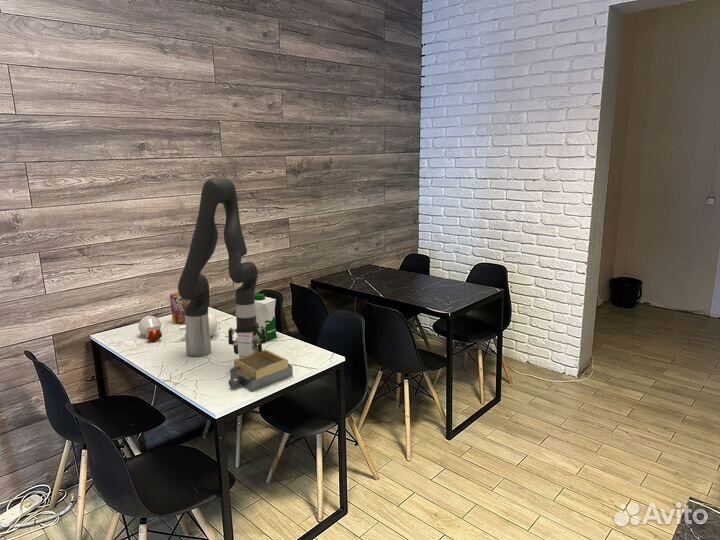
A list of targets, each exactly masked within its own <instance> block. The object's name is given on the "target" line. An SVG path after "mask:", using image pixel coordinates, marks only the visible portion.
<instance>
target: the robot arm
mask: <svg viewBox="0 0 720 540" xmlns="http://www.w3.org/2000/svg"><path fill="white" fill-rule="evenodd" d="M219 204H222V205H223V208H224V212H225V223H224V229H223V239H224V244H225V248H226V250H227V254H228V275H229V278H230V279H231V280H232V282H233V283H235V284H241V286H239V287H237V289H235V293H234V294H235V318H236V320H235V321H236V323H235V324H236V328H232V327H229V330H228V331H227V332H228V333H227V334H228V345H231V346H233V353H234V354H235V355H238V356H239V354H238V341H237V338H236V339H235V340H234V339H233V336H234V334H235V333H236V334H237V333H240V332H242V333H244V332H249V333H251V332H253V334H252V335H253V340H254V341H256V342H257V346H258V352H260V351H263V344H266V343H267V342H266V331H265V327H262V328H257V322H256V306H255V299H256V296H255V292H256V287H257V286H256V285H257V282H258V281H257V280H258V276H259V273H258V272H259V271H258V267H257V265H256V264H255V263H254V262H252V261H245V262H242V257H245V256H246V255H247V254H248V248H247V246H246V245H247V244H246V241H245V239H244V233H243V231H242V226H241V225H242V224H241V219H240V211H239V203H238V195H237V189H236V185H235V184H234V182H233V181H232V180H230V179H229V178H225V177H223V178H222V177H221V178H208V179H207V180H206V181H205V182H204V183H203V186H202V188H201V195H200V199H199V208H198V214H197V218H196V223H195V226H194V231H193V233H192V234H193V235H192V238H191V242H190V247H189V251H188V254H187V257H186V261H185V265H184V268H183V270H182V272H181V275H180V277H179V280H178V283H177V292H179V295H180V296H181V298H182V299H184V300H190V302H189V303H188V305H187V306H186V307H185V309H184V313H185V323H186V324H185V325H186V330H185V333H184V338H185V339H184V340H185V349H186V350H185V351H186V357H187V356H189V357H195V358H196V357H197V358H198V357H204V356H207V355H209V354H210V353H211V352H212V345H211V336H210V329H209V316H208V313H209V307H210V285H209V281H208V278H207V277H206V276H205V275H204V274H202V273H201V272H202V271H203V269H204V267H205V266H206V264H207V263H208V262H209V261H210V259H211V258H212V257H213V255H214V253H215V251H216V247H217V243H218V241H219V232H218V227H217V225H216V222H215V221H216V220H215V216H216V211H217V208H218V205H219ZM258 331H259V332H260V333H261V334H262V340H261V339H260V338H259V337H258V335H257V332H258ZM255 335H256V337H255Z"/></svg>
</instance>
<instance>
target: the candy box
mask: <svg viewBox="0 0 720 540" xmlns="http://www.w3.org/2000/svg"><path fill="white" fill-rule="evenodd" d="M169 301H170V310H171V311H170V312H171V321H172V325H186V323H185V313H184V309H185V307H186V306H187V305H188V303H189V302H190V300H184V299H182V298H181V296H180V295H179V292H178V291H173V292H171V293H169Z"/></svg>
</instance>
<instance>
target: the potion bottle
mask: <svg viewBox="0 0 720 540" xmlns="http://www.w3.org/2000/svg"><path fill="white" fill-rule="evenodd" d="M137 328H138V331H139V332H140V334H142V335H143V336H144V337H145V338H146V340H148V341H151V342H153V343H156V342H158V341H159V340H160V339H161V338H162V337H163V332H162V331H161V330H162V329H161V328H162V323H161V321H160V319H159V318H158V317H157V316H153V315H146V316H144V317H142V318H141V320H140V321H139V322H138V326H137Z"/></svg>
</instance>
